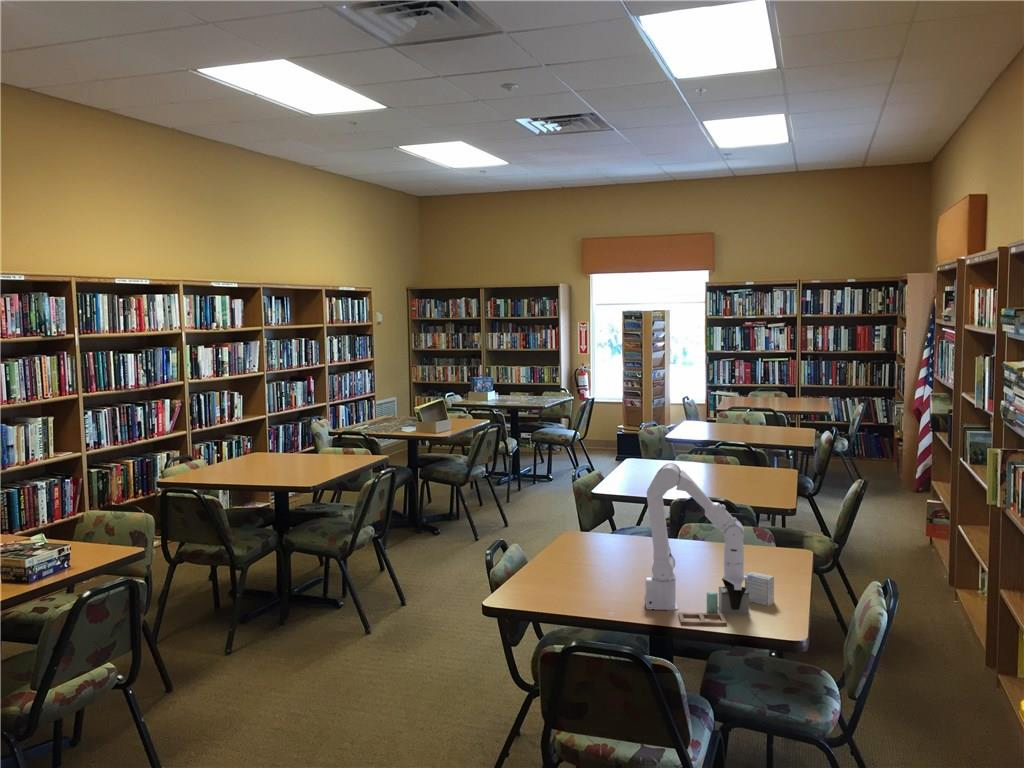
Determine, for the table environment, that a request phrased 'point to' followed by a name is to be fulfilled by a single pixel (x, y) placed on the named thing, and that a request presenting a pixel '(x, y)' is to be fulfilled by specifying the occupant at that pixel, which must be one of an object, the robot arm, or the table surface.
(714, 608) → the teal peg
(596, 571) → the table surface
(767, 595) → the medicine box
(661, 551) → the robot arm
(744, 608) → the housing
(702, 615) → the walnut board
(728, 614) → the tile
